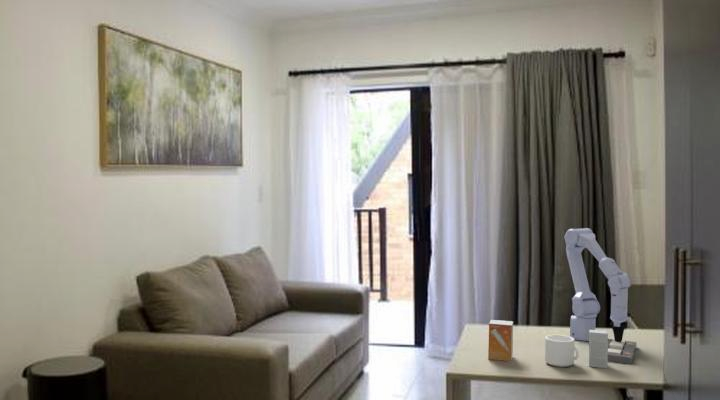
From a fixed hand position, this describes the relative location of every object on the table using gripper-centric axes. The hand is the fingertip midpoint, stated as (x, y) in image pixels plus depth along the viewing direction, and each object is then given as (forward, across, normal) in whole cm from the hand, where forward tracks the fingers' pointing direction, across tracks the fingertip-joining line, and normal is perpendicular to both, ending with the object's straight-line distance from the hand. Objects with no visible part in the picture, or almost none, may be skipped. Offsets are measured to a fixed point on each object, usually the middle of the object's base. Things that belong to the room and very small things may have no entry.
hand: (618, 341), depth 241 cm
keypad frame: (+3, -7, 0) cm, 8 cm away
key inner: (+2, 0, 0) cm, 2 cm away
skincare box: (+3, -26, +4) cm, 26 cm away
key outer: (+3, -14, 0) cm, 14 cm away
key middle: (+3, -7, 0) cm, 8 cm away
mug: (+3, -30, +15) cm, 34 cm away
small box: (+3, -33, +36) cm, 49 cm away
